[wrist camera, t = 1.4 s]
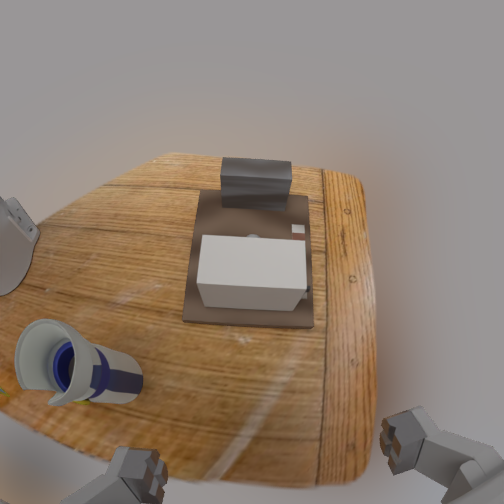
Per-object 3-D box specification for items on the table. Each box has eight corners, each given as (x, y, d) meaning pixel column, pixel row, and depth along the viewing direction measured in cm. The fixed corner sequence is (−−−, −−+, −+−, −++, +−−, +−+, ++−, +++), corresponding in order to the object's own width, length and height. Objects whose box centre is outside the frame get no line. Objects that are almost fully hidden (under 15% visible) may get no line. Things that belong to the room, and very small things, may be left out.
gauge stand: (311, 328, 42) (329, 310, 33) (183, 322, 42) (170, 302, 33) (305, 201, 52) (317, 164, 43) (201, 194, 51) (195, 156, 43)
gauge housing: (308, 311, 41) (325, 289, 33) (204, 306, 41) (196, 283, 33) (306, 255, 45) (321, 224, 37) (210, 250, 45) (205, 216, 36)
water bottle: (141, 414, 35) (32, 426, 13) (88, 396, 35) (-38, 377, 13) (152, 359, 39) (57, 310, 16) (100, 344, 39) (-15, 282, 17)
